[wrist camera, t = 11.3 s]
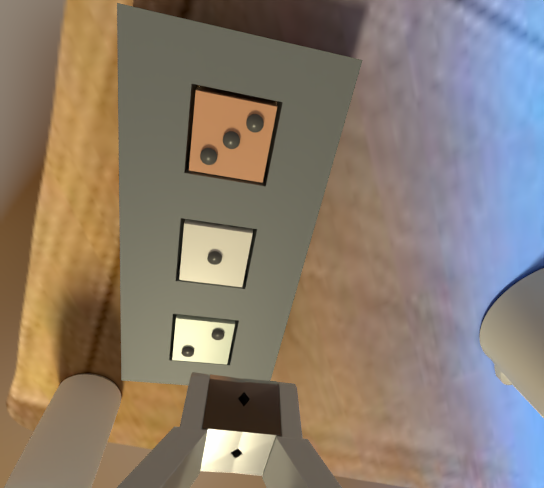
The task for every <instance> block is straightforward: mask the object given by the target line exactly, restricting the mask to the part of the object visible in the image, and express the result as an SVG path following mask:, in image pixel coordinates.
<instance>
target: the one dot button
mask: <svg viewBox="0 0 544 488" xmlns="http://www.w3.org/2000/svg"><path fill="white" fill-rule="evenodd" d="M252 234H253V229H252V228H245V227H238V226H232V225H225V224H218V223H211V222H204V221H197V220H190V219H185V222H184V231H183V242H182V254H181V265H180V277H179V280H185V281H194V282H202V283H210V284H219V285H227V286H236V287H242V286H243V281H244V276H245V270H246V265H247V260H248V255H249V250H250V245H251V240H252Z"/></svg>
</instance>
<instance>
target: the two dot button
mask: <svg viewBox="0 0 544 488" xmlns="http://www.w3.org/2000/svg"><path fill="white" fill-rule="evenodd" d="M234 327H235V320H229V319H219V318H210V317H200V316H190V315H181V314H177V316H176V323H175V334H174V346H173V357H172V360H179V361H190V362H202V363H214V364H226V365H227V363H228V358H229V353H230V348H231V342H232V337H233V332H234Z"/></svg>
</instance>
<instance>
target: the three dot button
mask: <svg viewBox="0 0 544 488" xmlns="http://www.w3.org/2000/svg"><path fill="white" fill-rule="evenodd" d="M276 111H277V105H276V103H275V101H274V100H269V99H264V98H259V97H255V96H250V95H245V94H240V93H235V92H230V91H225V90H220V89H216V88H211V87H206V86H200V87H199V88H198V89H197V90H196V93H195V105H194V116H193V128H192V139H191V151H190V162H189V170H190V171H196V172H202V173H208V174H214V175H219V176H225V177H231V178H237V179H243V180H249V181H255V182H261V183H263V178H264V173H265V168H266V163H267V157H268V152H269V147H270V142H271V137H272V132H273V127H274V121H275V116H276Z"/></svg>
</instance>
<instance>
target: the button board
mask: <svg viewBox="0 0 544 488" xmlns="http://www.w3.org/2000/svg"><path fill="white" fill-rule="evenodd" d="M117 30H118V119H119V207H120V296H121V380H123V381H137V382H150V383H164V384H178V385H189V381H190V377H191V374H192V372H196V373H204V374H212V375H219V376H226V377H233V378H240V379H244V378H246V379H256V380H266V381H270V380H271V377H272V373H273V370H274V366H275V363H276V359H277V356H278V352H279V349H280V345H281V342H282V338H283V335H284V331H285V328H286V324H287V321H288V317H289V314H290V310H291V307H292V303H293V300H294V296H295V293H296V290H297V286H298V283H299V279H300V276H301V272H302V269H303V265H304V262H305V258H306V255H307V251H308V248H309V244H310V241H311V237H312V234H313V230H314V227H315V223H316V220H317V216H318V213H319V210H320V206H321V203H322V199H323V196H324V192H325V189H326V185H327V182H328V178H329V175H330V171H331V168H332V164H333V161H334V157H335V154H336V150H337V147H338V143H339V140H340V136H341V133H342V129H343V126H344V123H345V119H346V116H347V112H348V109H349V105H350V102H351V98H352V95H353V91H354V88H355V84H356V81H357V77H358V74H359V70H360V67H361V63H362V60H360V59H355V58H351V57H347V56H342V55H338V54H334V53H330V52H325V51H321V50H317V49H312V48H308V47H304V46H300V45H295V44H291V43H287V42H282V41H278V40H274V39H269V38H265V37H261V36H257V35H252V34H248V33H244V32H239V31H235V30H231V29H226V28H222V27H218V26H214V25H209V24H205V23H201V22H196V21H192V20H188V19H184V18H179V17H175V16H171V15H166V14H162V13H158V12H153V11H149V10H145V9H141V8H136V7H132V6H128V5H123V4H119V3H117ZM197 85H201V86H206V87H211V88H216V89H220V90H225V91H230V92H235V93H240V94H245V95H250V96H255V97H259V98H264V99H269V100H274V101H278V102H277V111H276V116H275V121H274V127H273V132H272V137H271V142H270V147H269V152H268V157H267V163H266V168H265V173H264V178H263V183H261V182H255V181H249V180H243V179H237V178H231V177H225V176H219V175H214V174H208V173H202V172H196V171H190V170H189V162H190V151H191V139H192V128H193V116H194V105H195V93H196V88H197ZM185 219H190V220H197V221H204V222H211V223H218V224H225V225H232V226H238V227H245V228H252V229H253V234H252V240H251V245H250V250H249V255H248V260H247V265H246V270H245V276H244V281H243V286H242V287H236V286H227V285H219V284H210V283H202V282H194V281H185V280H179V277H180V265H181V254H182V242H183V231H184V222H185ZM177 314H181V315H190V316H200V317H210V318H219V319H229V320H235V327H234V332H233V337H232V342H231V348H230V353H229V358H228V363H227V365H226V364H214V363H202V362H190V361H179V360H172V357H173V346H174V334H175V323H176V316H177ZM209 378H210V377H209Z"/></svg>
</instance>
